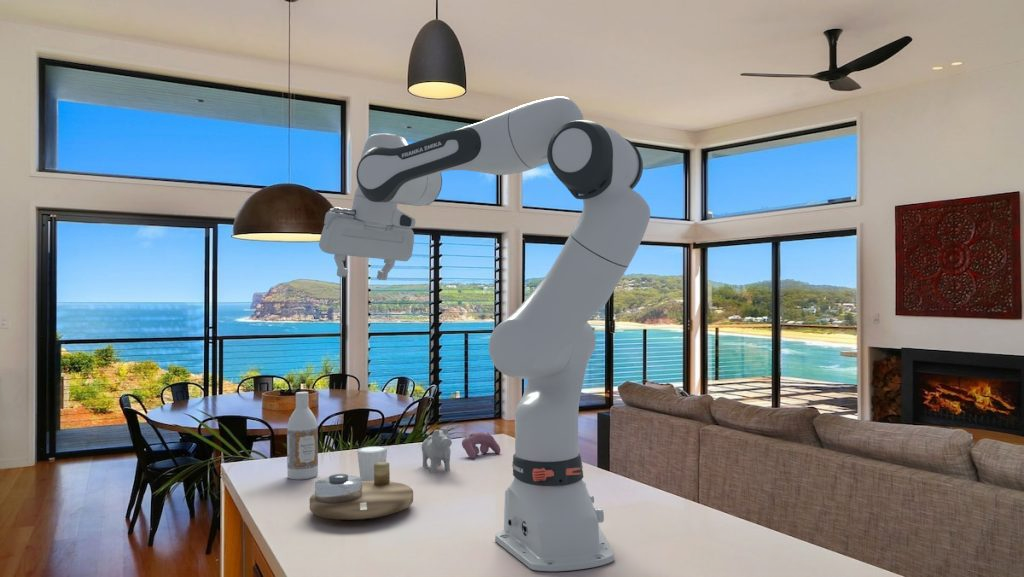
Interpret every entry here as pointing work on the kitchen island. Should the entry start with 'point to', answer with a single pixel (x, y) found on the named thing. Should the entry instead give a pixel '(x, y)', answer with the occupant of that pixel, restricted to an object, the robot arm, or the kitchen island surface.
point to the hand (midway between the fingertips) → (362, 278)
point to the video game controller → (479, 438)
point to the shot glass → (370, 460)
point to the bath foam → (302, 441)
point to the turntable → (369, 498)
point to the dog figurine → (437, 449)
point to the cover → (338, 489)
